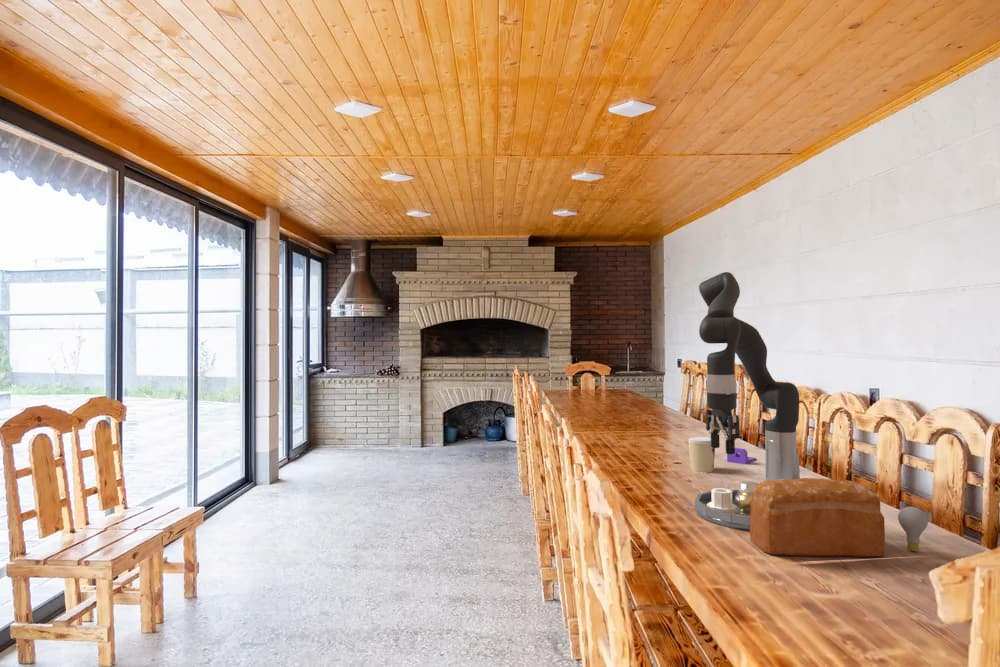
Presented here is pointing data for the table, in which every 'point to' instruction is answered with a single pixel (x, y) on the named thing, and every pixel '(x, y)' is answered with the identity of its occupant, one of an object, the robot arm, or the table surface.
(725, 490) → the white faceted ring
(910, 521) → the light bulb
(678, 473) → the table surface
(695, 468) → the coffee cup
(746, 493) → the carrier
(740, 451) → the bracket
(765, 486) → the bread
